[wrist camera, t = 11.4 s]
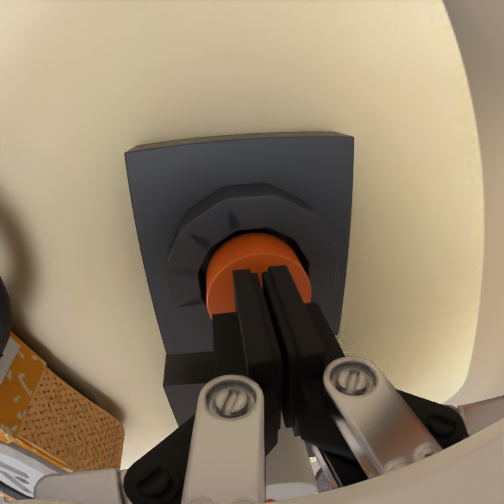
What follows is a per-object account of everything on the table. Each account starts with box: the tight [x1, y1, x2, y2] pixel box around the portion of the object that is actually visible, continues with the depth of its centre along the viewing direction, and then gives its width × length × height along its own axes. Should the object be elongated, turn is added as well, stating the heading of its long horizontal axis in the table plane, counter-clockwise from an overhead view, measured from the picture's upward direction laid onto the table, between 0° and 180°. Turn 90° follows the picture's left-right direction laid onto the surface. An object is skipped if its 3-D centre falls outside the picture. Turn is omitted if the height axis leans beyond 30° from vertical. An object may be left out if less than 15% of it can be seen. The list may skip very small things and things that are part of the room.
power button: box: [206, 233, 311, 319], centre depth 12 cm, size 4×4×2 cm
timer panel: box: [163, 335, 345, 457], centre depth 19 cm, size 11×10×3 cm
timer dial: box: [266, 413, 318, 503], centre depth 16 cm, size 5×5×5 cm
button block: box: [124, 132, 354, 355], centre depth 14 cm, size 10×9×4 cm
